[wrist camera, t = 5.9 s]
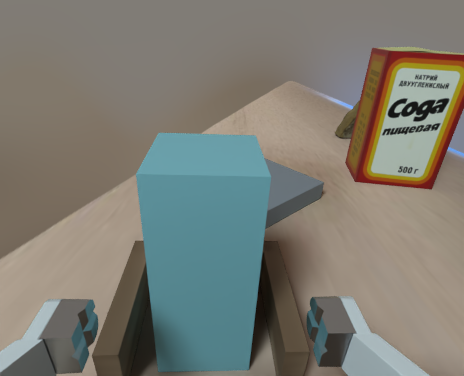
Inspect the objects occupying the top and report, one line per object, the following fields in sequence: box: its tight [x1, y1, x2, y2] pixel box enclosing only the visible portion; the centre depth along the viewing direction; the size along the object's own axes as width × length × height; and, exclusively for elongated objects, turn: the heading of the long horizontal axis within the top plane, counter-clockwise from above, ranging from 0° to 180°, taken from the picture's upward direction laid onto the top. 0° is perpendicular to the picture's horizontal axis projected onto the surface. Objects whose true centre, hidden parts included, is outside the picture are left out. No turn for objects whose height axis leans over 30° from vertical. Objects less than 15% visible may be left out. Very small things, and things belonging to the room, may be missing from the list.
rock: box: [335, 101, 360, 138], centre depth 57 cm, size 11×9×10 cm
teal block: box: [136, 133, 271, 372], centre depth 16 cm, size 5×5×12 cm
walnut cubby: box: [92, 241, 310, 376], centre depth 19 cm, size 10×9×3 cm
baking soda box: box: [345, 47, 464, 189], centre depth 38 cm, size 10×6×16 cm
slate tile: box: [264, 158, 324, 228], centre depth 35 cm, size 12×12×2 cm
